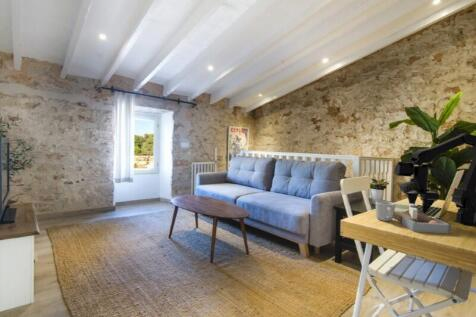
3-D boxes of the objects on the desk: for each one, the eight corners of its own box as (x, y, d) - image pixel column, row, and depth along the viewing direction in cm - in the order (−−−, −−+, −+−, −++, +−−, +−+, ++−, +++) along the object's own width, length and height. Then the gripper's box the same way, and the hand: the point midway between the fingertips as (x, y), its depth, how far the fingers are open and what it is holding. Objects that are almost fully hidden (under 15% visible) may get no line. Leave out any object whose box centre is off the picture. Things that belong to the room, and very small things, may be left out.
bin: (435, 226, 112) (435, 218, 111) (450, 233, 103) (451, 224, 103) (401, 224, 112) (402, 216, 112) (413, 231, 104) (414, 223, 104)
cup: (399, 225, 112) (401, 207, 111) (379, 223, 113) (381, 205, 113) (390, 218, 122) (391, 201, 121) (372, 216, 124) (373, 200, 123)
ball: (438, 231, 105) (430, 230, 108) (442, 225, 106) (434, 224, 109) (433, 225, 105) (424, 224, 108) (437, 219, 106) (429, 218, 109)
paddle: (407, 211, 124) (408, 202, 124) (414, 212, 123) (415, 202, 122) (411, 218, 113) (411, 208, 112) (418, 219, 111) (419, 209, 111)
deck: (419, 217, 125) (419, 211, 124) (438, 226, 112) (439, 220, 111) (389, 216, 125) (389, 210, 125) (405, 224, 112) (405, 218, 112)
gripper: (391, 173, 130) (389, 204, 131) (415, 179, 111) (412, 215, 112) (414, 174, 129) (412, 205, 130) (442, 180, 111) (438, 216, 112)
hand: (417, 210), depth 121 cm, fingers open, 9 cm apart
